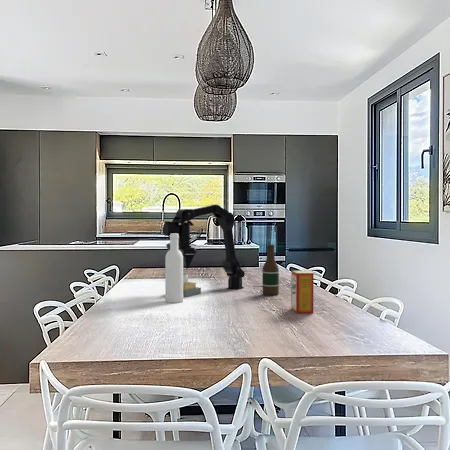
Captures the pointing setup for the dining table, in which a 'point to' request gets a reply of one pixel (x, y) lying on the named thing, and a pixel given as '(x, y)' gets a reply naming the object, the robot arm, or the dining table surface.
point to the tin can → (185, 278)
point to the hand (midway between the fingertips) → (184, 267)
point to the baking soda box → (302, 291)
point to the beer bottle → (270, 274)
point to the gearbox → (190, 289)
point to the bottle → (174, 272)
